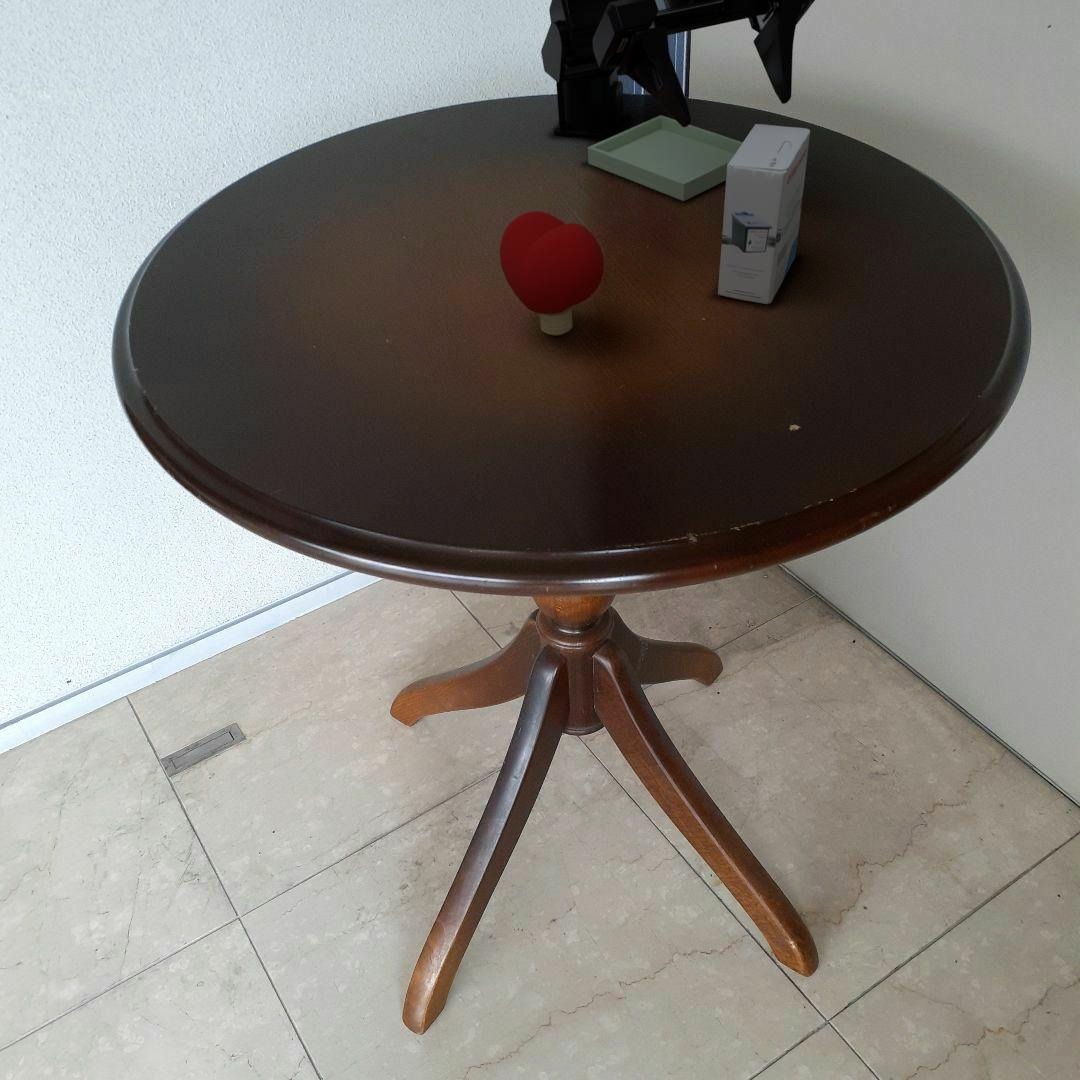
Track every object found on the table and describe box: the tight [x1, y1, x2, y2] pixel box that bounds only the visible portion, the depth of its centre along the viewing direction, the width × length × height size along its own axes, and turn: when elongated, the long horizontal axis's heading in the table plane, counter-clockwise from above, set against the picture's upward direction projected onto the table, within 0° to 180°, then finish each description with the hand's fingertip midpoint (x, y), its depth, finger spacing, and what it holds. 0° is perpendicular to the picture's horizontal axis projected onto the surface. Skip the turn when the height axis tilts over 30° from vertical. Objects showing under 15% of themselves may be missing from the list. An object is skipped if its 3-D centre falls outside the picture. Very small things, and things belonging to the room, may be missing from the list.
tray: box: [587, 114, 744, 202], centre depth 107 cm, size 14×11×2 cm
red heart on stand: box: [499, 210, 605, 338], centre depth 82 cm, size 9×7×10 cm
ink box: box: [717, 123, 811, 305], centre depth 86 cm, size 9×5×12 cm, turn 156°
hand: (737, 112), depth 85 cm, fingers open, 9 cm apart
